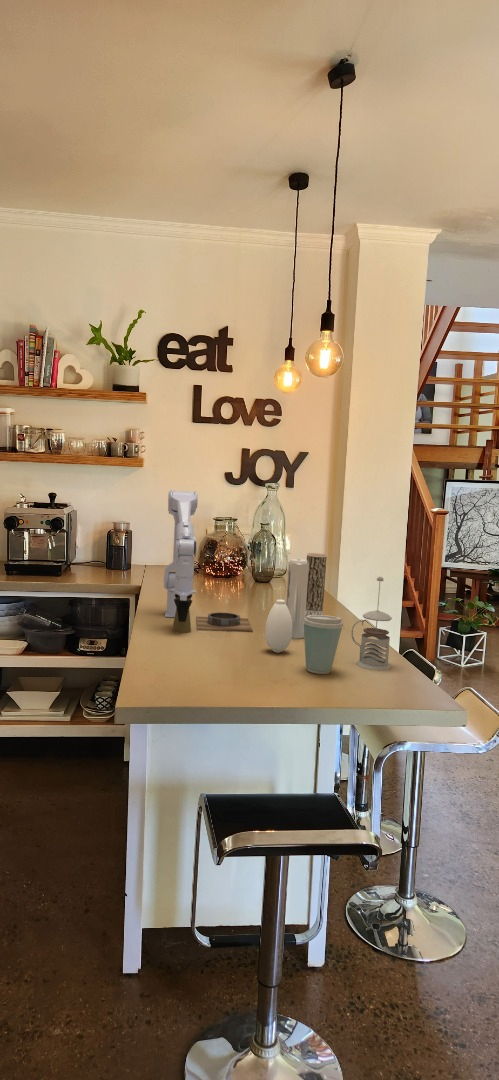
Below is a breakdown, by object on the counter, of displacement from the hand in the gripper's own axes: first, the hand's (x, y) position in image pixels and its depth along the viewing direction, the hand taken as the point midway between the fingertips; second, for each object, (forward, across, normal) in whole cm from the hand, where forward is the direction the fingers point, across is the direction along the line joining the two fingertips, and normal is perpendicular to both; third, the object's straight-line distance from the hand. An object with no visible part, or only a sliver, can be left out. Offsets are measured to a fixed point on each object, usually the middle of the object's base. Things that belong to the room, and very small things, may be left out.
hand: (182, 618), depth 218 cm
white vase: (+4, -22, -28) cm, 36 cm away
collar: (+4, +11, -14) cm, 18 cm away
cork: (+4, 0, 0) cm, 4 cm away
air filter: (+4, -2, -36) cm, 36 cm away
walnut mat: (+4, +11, -14) cm, 18 cm away
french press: (+4, -32, -53) cm, 62 cm away
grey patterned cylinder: (+4, +15, -45) cm, 48 cm away
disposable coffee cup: (+4, -40, -37) cm, 55 cm away
